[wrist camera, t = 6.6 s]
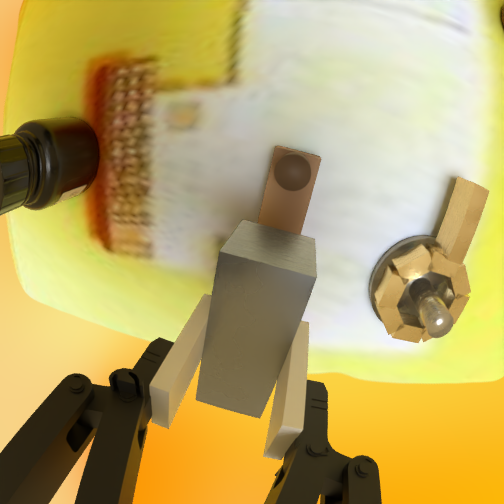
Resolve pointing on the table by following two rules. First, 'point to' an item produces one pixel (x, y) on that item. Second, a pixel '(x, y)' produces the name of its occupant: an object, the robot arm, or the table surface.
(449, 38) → the table surface
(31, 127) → the ink bottle
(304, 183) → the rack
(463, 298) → the golden ring with handle
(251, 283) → the bar
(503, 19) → the mug
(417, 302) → the nut station
